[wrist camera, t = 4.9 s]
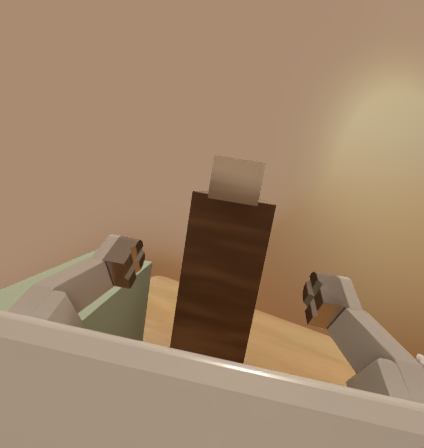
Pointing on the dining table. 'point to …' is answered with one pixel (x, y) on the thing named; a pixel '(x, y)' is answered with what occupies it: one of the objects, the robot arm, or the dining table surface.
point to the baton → (236, 180)
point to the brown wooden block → (220, 276)
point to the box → (100, 302)
